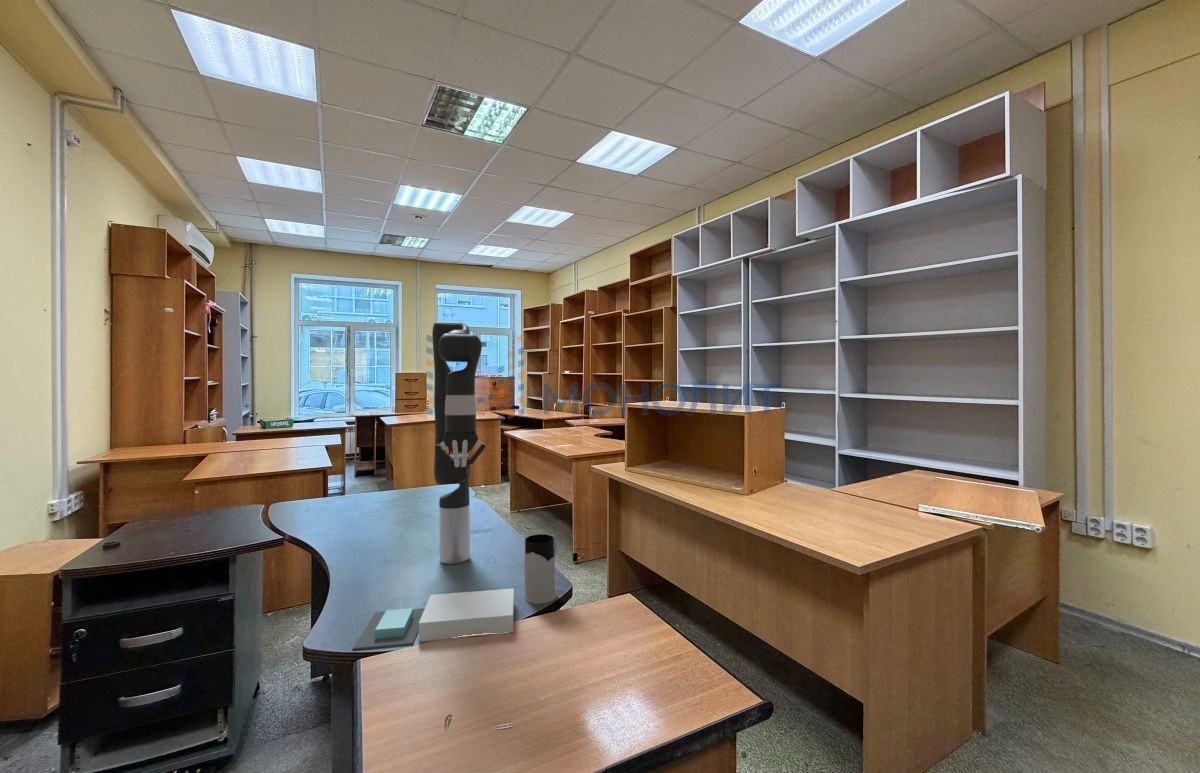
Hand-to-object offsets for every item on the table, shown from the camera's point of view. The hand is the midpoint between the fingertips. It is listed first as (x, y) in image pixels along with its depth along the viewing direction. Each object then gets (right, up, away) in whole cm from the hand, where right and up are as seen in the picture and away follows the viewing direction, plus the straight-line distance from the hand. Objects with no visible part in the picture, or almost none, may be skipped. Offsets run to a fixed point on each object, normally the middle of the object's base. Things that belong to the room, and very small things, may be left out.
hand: (461, 481), depth 120 cm
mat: (-12, -31, -12) cm, 35 cm away
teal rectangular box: (-11, -29, -13) cm, 33 cm away
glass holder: (+20, -31, +6) cm, 38 cm away
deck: (+5, -31, -9) cm, 33 cm away
